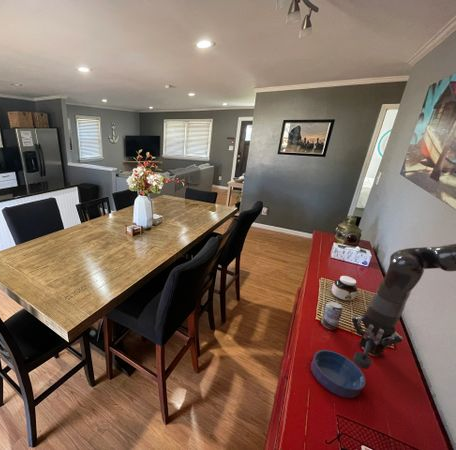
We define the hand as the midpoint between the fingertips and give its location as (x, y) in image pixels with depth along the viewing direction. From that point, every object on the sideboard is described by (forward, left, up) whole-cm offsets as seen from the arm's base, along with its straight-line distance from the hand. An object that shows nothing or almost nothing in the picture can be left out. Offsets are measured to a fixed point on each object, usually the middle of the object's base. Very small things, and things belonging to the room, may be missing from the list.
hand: (366, 347), depth 83 cm
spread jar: (+13, -54, -15) cm, 58 cm away
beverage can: (+13, -22, -15) cm, 30 cm away
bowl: (+5, +6, -15) cm, 16 cm away
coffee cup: (-3, -20, -15) cm, 25 cm away
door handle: (0, -1, -3) cm, 3 cm away
